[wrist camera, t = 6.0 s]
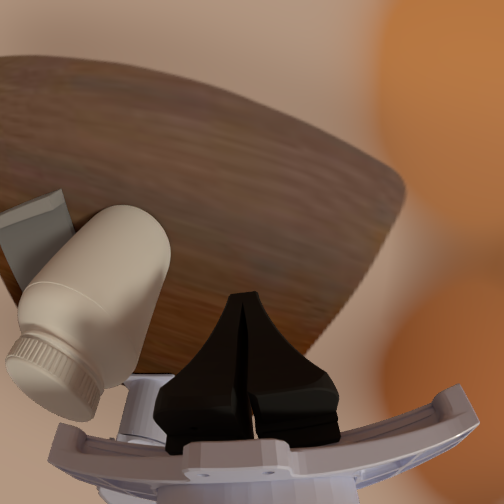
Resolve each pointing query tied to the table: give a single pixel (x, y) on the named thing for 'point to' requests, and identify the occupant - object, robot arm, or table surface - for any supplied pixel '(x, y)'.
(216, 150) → the table surface
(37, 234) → the grey tray
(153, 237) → the pill bottle
